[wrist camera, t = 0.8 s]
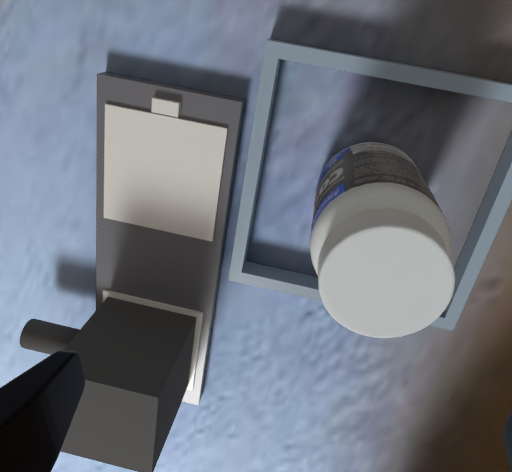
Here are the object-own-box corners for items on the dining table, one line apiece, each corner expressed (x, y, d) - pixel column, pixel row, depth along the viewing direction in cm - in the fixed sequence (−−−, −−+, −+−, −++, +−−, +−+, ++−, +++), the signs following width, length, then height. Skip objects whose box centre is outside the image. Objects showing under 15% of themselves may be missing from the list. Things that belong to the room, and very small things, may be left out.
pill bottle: (321, 136, 20) (312, 203, 13) (430, 144, 20) (489, 219, 12) (311, 232, 22) (299, 339, 15) (410, 242, 22) (450, 359, 14)
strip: (245, 99, 20) (240, 103, 19) (202, 395, 28) (197, 409, 27) (105, 71, 20) (93, 74, 20) (101, 371, 28) (93, 383, 27)
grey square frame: (545, 89, 18) (558, 94, 17) (447, 316, 23) (452, 330, 22) (269, 38, 19) (265, 39, 18) (232, 268, 24) (228, 279, 23)
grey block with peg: (197, 315, 24) (158, 397, 19) (188, 384, 27) (151, 475, 21) (43, 279, 25) (-36, 349, 20) (47, 349, 27) (-23, 429, 22)
